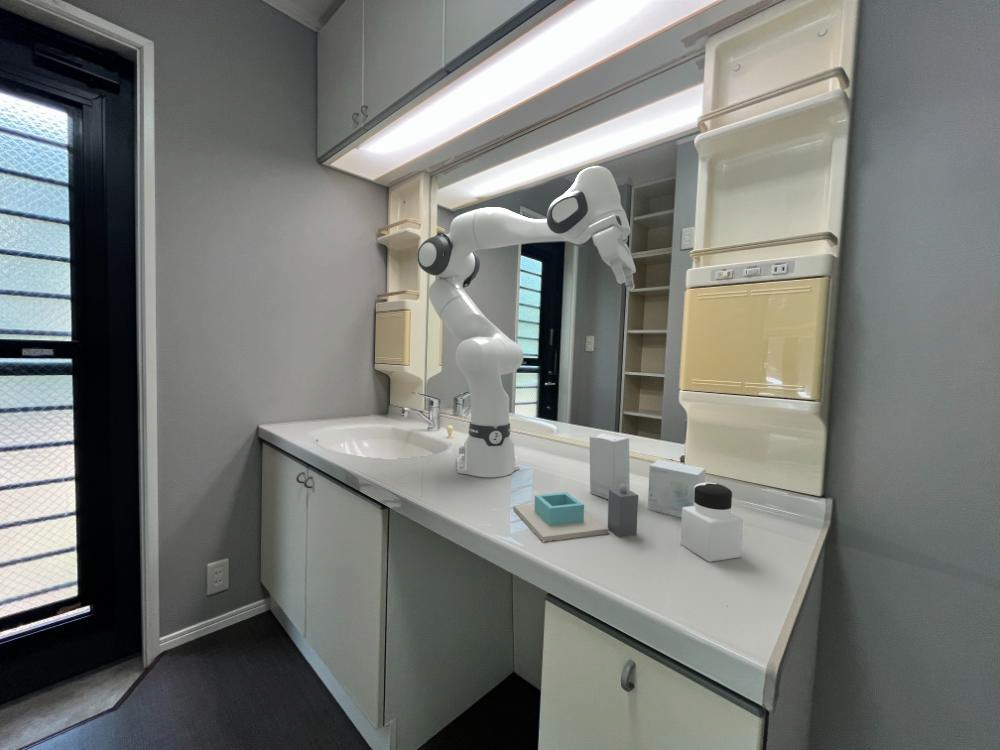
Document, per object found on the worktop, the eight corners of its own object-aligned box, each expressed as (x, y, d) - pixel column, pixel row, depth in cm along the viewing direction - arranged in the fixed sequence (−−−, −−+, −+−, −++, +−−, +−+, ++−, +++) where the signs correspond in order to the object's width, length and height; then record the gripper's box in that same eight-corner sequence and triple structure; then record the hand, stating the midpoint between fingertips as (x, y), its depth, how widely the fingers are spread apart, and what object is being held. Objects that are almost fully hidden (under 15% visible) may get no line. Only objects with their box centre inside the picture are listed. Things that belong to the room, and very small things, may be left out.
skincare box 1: (629, 498, 101) (632, 438, 100) (613, 503, 98) (615, 440, 97) (603, 488, 108) (605, 432, 107) (587, 492, 105) (589, 434, 104)
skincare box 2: (646, 509, 94) (648, 464, 94) (656, 502, 99) (658, 458, 99) (695, 522, 88) (698, 473, 87) (703, 514, 92) (706, 467, 92)
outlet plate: (513, 510, 92) (514, 490, 92) (570, 504, 96) (571, 485, 96) (542, 542, 77) (543, 518, 77) (608, 533, 81) (609, 511, 81)
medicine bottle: (741, 557, 73) (745, 490, 72) (708, 563, 71) (712, 493, 70) (710, 539, 79) (713, 478, 79) (679, 544, 77) (682, 480, 77)
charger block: (607, 528, 83) (609, 482, 83) (624, 526, 85) (626, 481, 84) (618, 537, 80) (620, 489, 79) (636, 535, 81) (638, 487, 80)
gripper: (609, 247, 110) (623, 297, 108) (585, 225, 92) (602, 284, 90) (632, 237, 107) (648, 288, 105) (612, 212, 89) (631, 272, 87)
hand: (626, 286), depth 98 cm, fingers open, 8 cm apart
